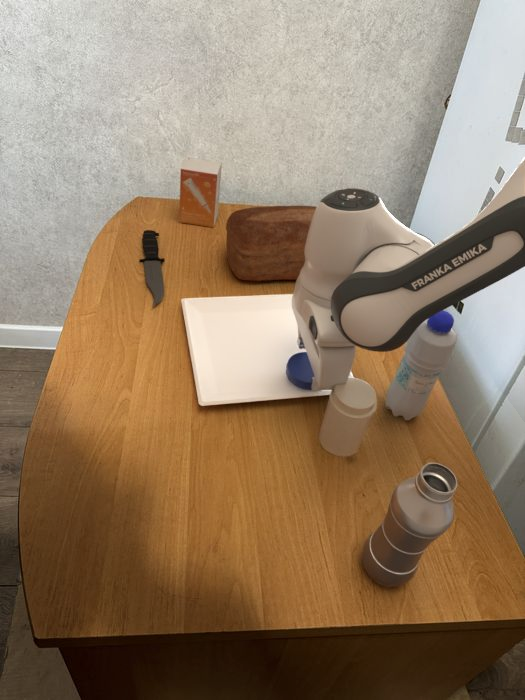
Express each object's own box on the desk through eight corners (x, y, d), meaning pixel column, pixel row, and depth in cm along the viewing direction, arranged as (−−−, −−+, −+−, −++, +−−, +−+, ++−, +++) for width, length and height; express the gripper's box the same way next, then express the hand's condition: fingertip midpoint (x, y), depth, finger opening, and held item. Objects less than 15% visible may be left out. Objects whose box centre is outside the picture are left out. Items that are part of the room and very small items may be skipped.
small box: (179, 223, 120) (179, 168, 111) (184, 209, 125) (185, 156, 116) (214, 228, 120) (217, 174, 111) (218, 214, 125) (222, 161, 116)
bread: (218, 250, 114) (222, 198, 105) (339, 245, 121) (351, 196, 113) (232, 289, 104) (237, 235, 96) (362, 281, 112) (377, 230, 103)
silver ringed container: (368, 532, 69) (417, 440, 56) (417, 561, 67) (479, 471, 54) (349, 573, 65) (396, 483, 52) (400, 604, 63) (463, 519, 49)
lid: (276, 369, 86) (278, 362, 85) (307, 353, 90) (309, 346, 89) (306, 396, 83) (308, 389, 82) (337, 378, 87) (339, 371, 85)
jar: (358, 423, 83) (376, 377, 76) (363, 458, 78) (382, 413, 71) (317, 419, 82) (330, 373, 75) (319, 454, 78) (334, 408, 71)
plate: (357, 399, 87) (361, 390, 85) (198, 413, 80) (199, 404, 79) (313, 300, 105) (315, 292, 103) (180, 306, 99) (180, 297, 97)
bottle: (387, 424, 83) (429, 329, 70) (376, 392, 88) (414, 298, 75) (427, 424, 84) (476, 331, 71) (414, 393, 89) (458, 299, 76)
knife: (171, 302, 97) (143, 303, 95) (171, 309, 98) (143, 310, 96) (160, 229, 114) (136, 229, 113) (160, 236, 115) (136, 236, 114)
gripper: (289, 257, 83) (277, 324, 92) (322, 346, 68) (304, 415, 78) (328, 257, 84) (312, 323, 93) (368, 345, 69) (344, 413, 79)
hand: (309, 366), depth 85 cm, fingers open, 8 cm apart
